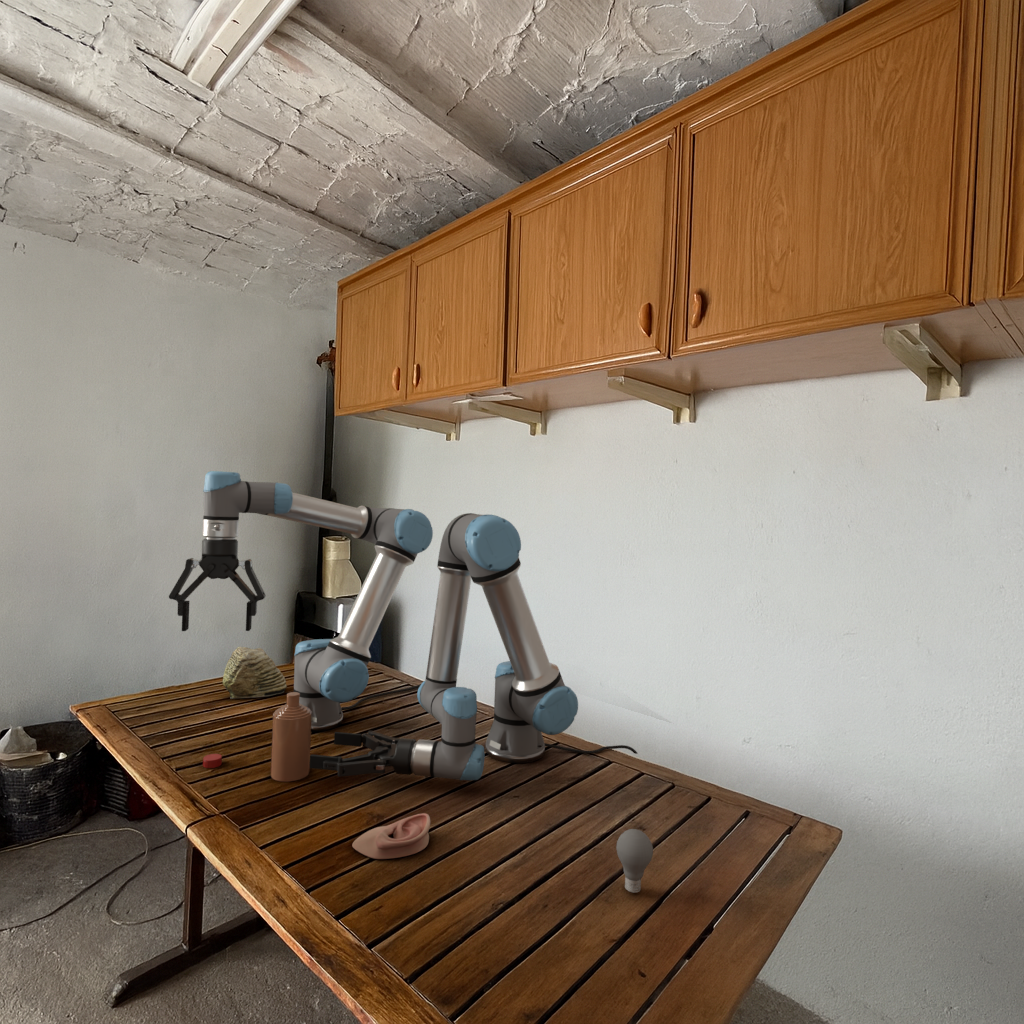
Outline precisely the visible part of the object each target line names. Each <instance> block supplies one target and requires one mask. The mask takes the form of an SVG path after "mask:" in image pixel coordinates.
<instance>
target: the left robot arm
mask: <svg viewBox="0 0 1024 1024" xmlns="http://www.w3.org/2000/svg"><path fill="white" fill-rule="evenodd" d="M202 492H203V514H202V515H203V517H202V518H203V519H202V537H203V539H202V540H201V558H200V559H195V558H193V557H191V558H188V559H186V560H185V565H184V569H183V571H182V573H181V574H180V576H179V578H178V580H177V581H176V583H175V585H174V587H173V588H172V590H171V591H170V593H169V595H168V599H170V600H173V601H176V603H177V613H176V614H177V616H178V617H181V632H186V631H188V630H189V625H190V600H187V599H188V598H189V596H190V595H192V593H194V591H195V590H197V588H198V587H199V586H201V584H202V583H203V582H204V581H205V580H206V579H207V578H208V579H210V580H215V579H220V580H226V579H228V578H229V579H230V581H232V582H233V583H234V585H236V586H237V587H238V589H239V590H240V591H241V592H242V593H243V595H245V597H246V598H247V599H248V601H247V602H246V611H245V612H246V614H245V615H246V616H245V632H250V631H251V630H252V622H253V621H252V619H253V618H252V617H255V616H256V615H257V612H258V602H259V601H263V600H265V598H266V593H265V591H264V589H263V586H262V584H261V583H260V581H259V578H258V577H257V575H256V573H255V570H254V568H253V560H252V559H251V558H249V559H246V560H245V559H244V560H239V558H238V556H239V555H238V553H239V552H238V549H239V540H238V539H236V538H238V537H239V529H240V527H239V525H240V517H239V516H240V514H257V515H262V516H268V517H271V518H272V517H273V518H276V519H282V520H286V521H292V522H295V523H300V524H305V525H309V526H314V527H318V528H323V529H328V530H332V531H336V532H342V533H346V534H350V535H351V537H352V538H354V539H357V540H361V541H364V542H365V541H366V542H368V543H372V544H373V545H374V549H375V553H376V555H375V557H374V560H373V562H372V564H371V566H370V568H369V570H368V572H367V574H366V576H365V579H364V581H363V583H362V585H361V587H360V589H359V591H358V594H357V596H356V598H355V600H354V601H353V605H352V606H351V609H350V610H349V613H348V615H347V617H346V618H345V622H344V624H343V626H342V627H341V630H340V631H339V634H338V636H336V637H334V638H323V639H322V638H319V639H307V640H303V641H299V642H297V644H296V645H295V650H294V653H293V654H294V655H293V656H294V672H293V692H298V693H299V694H300V697H299V703H300V704H302V705H304V706H306V707H308V708H309V709H310V710H311V711H312V719H311V733H316V732H325V731H329V730H332V729H335V728H337V727H339V726H340V725H342V723H343V722H344V714H343V711H348V710H351V709H354V708H356V707H357V706H358V705H360V704H361V703H363V702H365V701H368V700H370V699H371V700H372V699H374V698H379V697H384V696H388V695H391V694H392V695H393V694H397V693H404V692H408V691H412V690H415V689H419V687H420V685H421V684H422V683H419V684H417V685H413V686H410V687H406V688H405V687H404V688H400V689H395V690H389V691H385V692H379V693H376V694H371V695H368V696H365V697H363V698H360V699H359V700H358V701H356V702H355V703H354V704H352V705H349V706H341V703H348V702H351V701H353V700H355V699H357V698H358V697H359V696H361V695H362V694H363V693H364V691H365V690H366V688H367V686H368V683H369V680H370V674H369V668H368V665H369V662H370V661H371V658H372V655H371V652H370V650H369V649H370V647H371V644H372V642H373V640H374V638H375V636H376V634H377V631H378V629H379V627H380V624H381V622H382V620H383V618H384V615H385V613H386V611H387V608H388V607H389V604H390V603H391V600H392V598H393V595H394V593H395V591H396V589H397V586H398V585H399V582H400V580H401V578H402V576H403V574H404V572H405V569H406V567H409V566H411V565H413V564H414V563H415V560H416V558H417V557H418V554H420V553H423V552H425V551H426V550H427V549H428V548H429V546H430V545H431V543H432V541H433V534H434V532H433V531H434V530H433V526H432V523H431V521H430V519H429V518H428V517H427V515H426V514H425V513H423V512H421V511H418V510H414V509H413V508H406V509H405V508H394V507H393V508H391V507H372V506H371V507H370V506H366V505H359V506H357V507H355V506H352V505H348V504H342V503H338V502H334V501H330V500H327V499H322V498H317V497H313V496H309V495H306V494H301V493H298V492H293V489H292V488H291V486H290V485H289V484H288V483H283V482H268V481H267V482H266V481H246V480H242V479H241V474H240V473H239V472H238V471H237V472H236V471H223V470H222V471H220V470H219V471H218V470H210V471H208V472H206V473H205V476H204V484H203V491H202ZM197 566H199V567H200V569H201V570H202V572H201V573H200V574H199V575H198V576H197V578H196V579H195V580H194V581H193V582H192V583H191V584H190V585H189V586H187V587H186V588H185V590H184V591H183V592H182V593H181V590H182V589H183V587H184V586H185V584H186V582H187V580H188V579H189V577H190V576H191V574H192V572H193V570H194V569H196V568H197ZM239 567H241V569H242V570H244V571H245V573H246V575H247V576H246V577H248V580H249V581H250V584H251V585H252V588H253V590H254V592H255V593H256V594H255V593H254V592H253V590H252V589H251V588H250V586H248V585H247V583H246V582H245V581H244V580H243V579H242V577H240V574H238V573H237V571H236V570H237V569H238V568H239ZM180 593H181V594H180Z"/></svg>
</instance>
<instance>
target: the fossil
mask: <svg viewBox="0 0 1024 1024" xmlns="http://www.w3.org/2000/svg"><path fill="white" fill-rule="evenodd" d="M222 676H223V677H222V685H223V687H224V688H225V690H226V691H228V693H229V698H230V699H250V698H264V697H271V696H275V695H281V694H284V693H285V691H286V689H287V687H288V686H287V680H286V678H285V676H284V674H283V673H282V672H281V669H279V668H278V667H277V665H276V663H275V662H274V660H273V659H272V658H271V657H270V656H269V655H268V654H267V653H266V652H265V650H264V649H263V648H260V647H258V648H251V647H247V646H246V647H245V646H238V647H237V648H236V649H235V650H233V651H232V653H231V656H230V657H229V659H228V660H227V663H226V666H225V668H224V671H223V675H222Z"/></svg>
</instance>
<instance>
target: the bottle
mask: <svg viewBox="0 0 1024 1024" xmlns="http://www.w3.org/2000/svg"><path fill="white" fill-rule="evenodd" d="M299 697H300V694H299V693H298V692H294V691H292V692H291V691H290V692H288V693H286V703H285V704H284V705H282V706H280V707H279V708H277V709H275V711H274V712H273V713H272V729H271V730H272V733H271V754H270V755H271V757H270V758H271V759H270V778H271V779H272V780H275V781H277V782H284V783H285V782H288V783H289V782H295V781H300V780H302V779H304V778H306V777H307V776H308V775H309V774H310V772H311V771H310V770H311V768H310V755H311V745H312V744H311V741H312V732H311V719H312V711H311V710H310V709H309V708H308V707H306V706H304V705H302V704H300V703H299Z"/></svg>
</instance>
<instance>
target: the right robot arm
mask: <svg viewBox="0 0 1024 1024" xmlns="http://www.w3.org/2000/svg"><path fill="white" fill-rule="evenodd" d="M521 550H522V540H521V536H520V533H519V531H518V530H517V528H516V527H515V526H514V524H513V523H512V522H510V521H509V520H507V519H505V518H503V517H501V516H499V515H495V514H480V513H472V512H470V513H469V512H468V513H463V514H462V513H461V514H460V515H457V516H455V517H454V518H453V519H451V520H450V522H449V523H447V526H446V527H445V530H444V532H443V535H442V538H441V541H440V547H439V552H438V558H437V565H436V567H437V569H438V570H439V572H440V574H439V582H438V589H437V594H436V595H437V596H436V601H435V602H436V603H435V610H434V617H433V623H432V631H431V638H430V645H429V651H428V657H427V658H428V659H427V667H426V673H425V680H424V681H423V682H421V683H420V684H421V685H420V687H419V688H417V693H416V696H417V701H418V703H419V704H420V706H421V707H422V709H423V710H424V711H425V712H426V713H428V714H430V715H431V716H432V717H433V718H434V719H435V720H436V721H437V722H438V723H440V725H441V739H440V740H441V741H440V740H432V739H431V740H430V739H418V740H416V739H415V738H403V737H401V738H400V737H399V738H398V737H393V736H389V735H387V734H383V733H380V732H377V731H373V730H368V731H367V732H364V733H355V732H354V733H353V732H340V731H335V732H333V745H336V746H337V745H338V746H347V747H348V746H349V747H359V748H360V747H362V748H368V749H369V750H371V751H368V753H366V754H361V755H360V754H359V755H356V756H355V755H354V756H350V757H346V758H343V757H342V756H341V755H339V756H334V755H321V754H311V753H310V769H315V770H326V771H336V772H337V777H339V778H342V777H343V778H344V777H352V776H361V775H370V774H371V775H372V774H385V773H386V768H388V767H392V768H393V771H394V773H395V774H397V775H406V776H412V774H413V775H414V776H417V777H418V776H419V777H424V778H425V779H428V778H438V779H439V778H440V779H450V780H456V781H457V780H459V781H478V780H480V779H481V778H482V775H483V774H484V773H483V772H484V767H485V753H486V754H487V755H488V756H489V757H490V758H492V759H494V760H497V761H501V762H504V763H510V764H511V763H512V764H524V763H531V762H535V761H538V760H540V759H541V758H543V757H544V756H545V753H546V752H545V751H546V748H547V747H548V748H552V749H557V750H561V751H566V752H570V753H577V754H585V755H586V754H587V755H590V754H597V753H601V752H603V751H606V750H615V749H626V750H629V751H630V752H632V753H633V754H636V755H637V754H638V752H637V750H635V748H633V747H631V746H629V745H623V744H619V745H607V746H606V745H605V746H602V747H600V748H598V749H594V750H585V749H584V750H581V749H575V748H571V747H564V746H561V745H557V744H551V743H546V742H545V740H544V736H543V734H545V735H549V736H556V735H560V734H561V733H563V732H565V731H566V730H568V728H569V727H571V725H572V724H573V722H575V717H576V716H577V715H578V711H579V700H578V696H577V694H576V693H575V692H574V690H573V689H572V688H571V687H569V686H567V685H566V684H565V682H564V679H563V676H562V674H561V671H560V668H559V666H558V665H557V664H555V663H553V662H550V660H549V658H548V654H547V651H546V648H545V646H544V644H543V641H542V638H541V635H540V632H539V629H538V626H537V624H536V621H535V619H534V616H533V612H532V610H531V607H530V604H529V602H528V599H527V597H526V593H525V590H524V588H523V586H522V582H521V580H520V577H519V574H518V572H519V570H520V568H521V565H522V563H521V560H520V551H521ZM472 583H474V584H475V585H478V586H480V587H481V588H482V591H483V592H484V596H485V598H486V602H487V604H488V607H489V609H490V612H491V614H492V617H493V620H494V622H495V625H496V628H497V631H498V633H499V636H500V639H501V641H502V644H503V646H504V649H505V652H506V654H507V657H508V660H507V661H501V662H499V663H498V664H497V665H496V668H495V674H494V703H493V722H492V724H491V726H490V729H489V732H488V735H487V737H486V740H485V747H484V746H483V745H482V744H478V743H476V741H477V740H476V727H477V713H478V700H477V693H476V691H475V690H473V689H472V688H469V687H465V686H457V682H458V674H459V668H460V667H459V666H460V659H461V652H462V647H463V640H464V632H465V626H466V625H465V624H466V618H467V612H468V605H469V598H470V592H471V591H470V590H471V585H472Z"/></svg>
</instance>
